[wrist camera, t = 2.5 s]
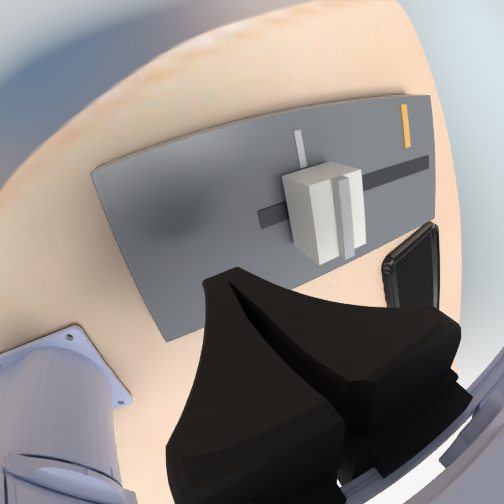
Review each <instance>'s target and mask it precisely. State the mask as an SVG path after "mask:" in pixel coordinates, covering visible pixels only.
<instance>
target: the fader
mask: <svg viewBox="0 0 504 504" xmlns="http://www.w3.org/2000/svg"><path fill="white" fill-rule="evenodd" d="M282 181H283V186H284V191H285V196H286V202H287V207H288V213H289V218H290V224H291V229H292V235H293V241H294V246H295V247H296V248H298V249H299V250H300V251H302V252H303V253H304V254H306V255H307V256H308V257H310V258H311V259H312V260H314V261H315V262H316V263H317V264H319V265H321V264H323V263H325V262H327V261H330V260H332V259H334V258H336V257H338V256H340V257H342V258H343V259H345V260H346V259H349V258H351V257H353V256H355V250H354V249H355V248H357V247H360V246H362V245H364V244H366V230H365V212H364V197H363V185H362V174H361V169H358V168H354V167H350V166H346V165H342V164H338V163H334V162H327V163H323V164H320V165H316V166H313V167H310V168H306V169H303V170H300V171H296V172H293V173H290V174H286V175H283V176H282Z"/></svg>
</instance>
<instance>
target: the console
mask: <svg viewBox="0 0 504 504" xmlns="http://www.w3.org/2000/svg"><path fill="white" fill-rule="evenodd" d="M327 162H334V163H338V164H342V165H346V166H350V167H354V168H358V169H361V174H362V185H363V197H364V212H365V230H366V244H364V245H362V246H360V247H357V248H355V249H354V250H355V256H353V257H351V258H349V259H346V260H345V259H343V258H342V257H340V256H338V257H336V258H334V259H332V260H330V261H327V262H325V263H323V264H321V265H319V264H317V263H316V262H315V261H314V260H312V259H311V258H310V257H308V256H307V255H306V254H304V253H303V252H302V251H300V250H299V249H298V248H296V247H295V246H294V241H293V235H292V229H291V224H290V218H289V213H288V207H287V202H286V196H285V191H284V186H283V181H282V176H283V175H286V174H290V173H293V172H296V171H300V170H303V169H306V168H310V167H313V166H316V165H320V164H323V163H327ZM91 177H92V180H93V183H94V186H95V189H96V191H97V194H98V197H99V199H100V202H101V205H102V207H103V210H104V212H105V215H106V217H107V220H108V222H109V225H110V227H111V230H112V232H113V235H114V237H115V239H116V242H117V244H118V246H119V249H120V251H121V253H122V255H123V258H124V260H125V262H126V264H127V266H128V269H129V271H130V273H131V275H132V277H133V279H134V281H135V284H136V286H137V288H138V290H139V292H140V294H141V296H142V298H143V300H144V302H145V304H146V306H147V308H148V310H149V312H150V314H151V315H152V317H153V319H154V321H155V323H156V325H157V327H158V329H159V331H160V332H161V334H162V336H163V338H164V340H165V341H166V343H167V342H169V341H172V340H174V339H177V338H179V337H182V336H184V335H187V334H189V333H192V332H194V331H197V330H199V329H202V328H204V327H205V293H204V289H203V286H202V282H203V280H204V279H207V278H209V277H212V276H214V275H217V274H219V273H222V272H224V271H227V270H229V269H232V268H234V267H237V266H238V267H240V268H242V269H244V270H246V271H248V272H250V273H252V274H254V275H256V276H258V277H260V278H263V279H265V280H267V281H269V282H271V283H274V284H276V285H279V286H281V287H284V288H286V289H289V290H292V289H294V288H296V287H298V286H300V285H302V284H305V283H307V282H309V281H311V280H313V279H315V278H317V277H320V276H322V275H324V274H326V273H328V272H330V271H332V270H334V269H336V268H338V267H341V266H343V265H345V264H347V263H349V262H351V261H353V260H355V259H357V258H359V257H361V256H363V255H365V254H367V253H369V252H371V251H373V250H375V249H377V248H379V247H381V246H383V245H385V244H387V243H389V242H391V241H393V240H394V239H396V238H398V237H400V236H402V235H404V234H406V233H408V232H410V231H412V230H414V229H416V228H417V227H419V226H421V225H423V224H425V223H427V222H429V221H430V220H432V219H434V217H435V145H434V130H433V118H432V108H431V99H430V95H412V94H401V95H387V96H376V97H366V98H357V99H348V100H341V101H334V102H327V103H320V104H314V105H308V106H302V107H297V108H291V109H286V110H281V111H276V112H272V113H267V114H262V115H258V116H254V117H249V118H245V119H241V120H237V121H233V122H229V123H225V124H222V125H218V126H214V127H211V128H207V129H204V130H200V131H197V132H193V133H190V134H187V135H184V136H180V137H177V138H174V139H171V140H168V141H165V142H162V143H159V144H156V145H153V146H150V147H148V148H145V149H142V150H139V151H136V152H134V153H131V154H128V155H126V156H123V157H121V158H118V159H116V160H113V161H111V162H108V163H106V164H103V165H101V166H98V167H96V168H95V170H94V171H93V172H92V173H91Z"/></svg>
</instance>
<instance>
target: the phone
mask: <svg viewBox="0 0 504 504" xmlns="http://www.w3.org/2000/svg"><path fill="white" fill-rule="evenodd" d="M381 272H382V277H383V283H384V289H385V295H386V302H387V308H406V307H424V306H434V307H435V308H437V309H438V310H439V297H440V250H439V229H438V226H437V225H436V224H434V223H432V222H427V223H425V224H424V225H423V226H422V227H421V228H419V229H418V230H417V231H416V232H415V233H414V234H412V235H411V236H410V237H409V238H408V239H406V240H405V241H404V242H403V243H402V244H400V245H399V246H398V247H397V248H396V249H394V250H393V251H392V252H391V253H389V254H388V255H387V256H386V258H385V259H384V261H383V263H382V267H381Z"/></svg>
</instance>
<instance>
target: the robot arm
mask: <svg viewBox="0 0 504 504" xmlns="http://www.w3.org/2000/svg"><path fill="white" fill-rule="evenodd" d="M202 286H203V289H204V293H205V328H204V338H203V345H202V351H201V356H200V361H199V364H198V368H197V372H196V376H195V379H194V383H193V386H192V389H191V391H190V394H189V397H188V399H187V402H186V405H185V407H184V410H183V412H182V415H181V417H180V419H179V421H178V423H177V425H176V427H175V429H174V431H173V433H172V435H171V437H170V439H169V441H168V443H167V445H166V468H167V476H168V483H169V487H170V490H171V493H172V496H173V499H174V502H175V504H363V503H365V502H367V501H368V500H370V499H371V498H373V497H374V496H376V495H377V494H379V493H380V492H382V491H384V490H385V489H386V488H388V487H389V486H391V485H392V484H394V483H395V482H396V481H398V480H399V479H400V478H401V477H403V476H404V475H406V474H407V473H408V472H410V471H411V470H412V469H413V468H415V467H416V466H417V465H418V464H420V463H421V462H422V461H423V460H424V459H426V458H427V457H428V456H429V455H430V454H432V453H433V452H434V451H435V450H436V449H437V448H438V447H440V446H441V445H442V444H443V443H444V442H445V441H446V440H447V439H448V438H449V437H450V436H451V435H452V434H454V432H456V431H457V430H458V429H459V428H460V426H462V424H464V423H465V422H466V420H467V419H468V418H469V417H470V416H471V415H472V414H473V415H472V419H471V421H470V422H469V423H468V424H467V425H466V426H465V427H464V429H463V430H462V431H461V432H460V433H459V435H458V436H457V438H456V439H455V441H454V442H453V443H452V445H451V446H450V447H449V448H448V449H447V450H446V452H445V453H444V454H443V455H442V456H441V457H440V458H439V462H440V463H441V464H442V465H443V466H444V467H445V468H446V469H445V470H444V471H443V472H442V473H441V474H439V475H438V476H437V477H436V478H435V479H434V480H432V481H431V482H430V483H429V484H428V485H427V486H425V487H424V488H423V489H422V490H420V491H419V492H418V493H417V494H415V495H414V496H413V497H411V498H410V499H409V500H407V501H406V502H405V503H403V504H504V347H503V348H502V350H501V351H500V353H498V355H497V356H496V357H495V358H494V360H493V361H492V362H491V363H490V364H489V366H488V367H487V368H486V369H485V370H484V371H483V372H482V374H481V375H480V376H479V377H478V378H477V379H476V380H475V381H474V382H473V383H472V384H471V386H470V387H469V388H468V389H467V390H465V389H464V388H463V387H462V386H460V385H459V384H458V383H457V382H456V381H457V379H458V374H457V373H455V372H454V371H453V370H452V369H451V365H452V363H453V360H454V358H455V355H456V352H457V349H458V347H459V344H460V340H461V327H460V326H459V324H458V323H457V322H455V321H454V320H453V319H451V318H450V317H448V316H447V315H446V314H444V313H443V312H441V311H440V310H438V309H437V308H435V307H434V306H424V307H406V308H386V307H368V306H358V305H350V304H343V303H337V302H332V301H327V300H323V299H319V298H315V297H311V296H307V295H304V294H301V293H298V292H295V291H292V290H289V289H286V288H284V287H281V286H279V285H276V284H274V283H271V282H269V281H267V280H265V279H263V278H260V277H258V276H256V275H254V274H252V273H250V272H248V271H246V270H244V269H242V268H240V267H238V266H237V267H234V268H232V269H229V270H227V271H224V272H222V273H219V274H217V275H214V276H212V277H209V278H207V279H204V280H203V282H202ZM67 334H70V335H72V336H73V337H69V336H67ZM120 400H122V401H120ZM132 401H133V399H132V396H131V394H130V393H129V392H128V391H127V389H126V388H125V387H124V386H123V385H122V383H121V382H120V381H119V380H118V378H117V377H116V376H115V374H114V373H113V372H112V370H111V369H110V368H109V367H108V365H107V364H106V363H105V361H104V360H103V358H102V357H101V356H100V354H99V353H98V351H97V350H96V349H95V347H94V346H93V344H92V343H91V341H90V340H89V339H88V337H87V336H86V334H85V333H84V331H83V330H82V328H81V327H79V326H76V325H74V326H71V327H68V328H66V329H63V330H61V331H58V332H55V333H53V334H50V335H48V336H45V337H43V338H40V339H38V340H35V341H33V342H30V343H28V344H25V345H23V346H20V347H18V348H15V349H12V350H10V351H7V352H5V353H2V354H0V504H138V502H137V498H136V494H135V492H134V491H130V490H127V489H124V488H123V486H122V481H121V475H120V469H119V463H118V456H117V449H116V442H115V433H114V424H113V414H112V409H115V408H118V407H121V406H124V405H128V404H130V403H132ZM337 479H338V481H339V482H340V484H341V486H342V487H340V488H339V486H338V485H337Z"/></svg>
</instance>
